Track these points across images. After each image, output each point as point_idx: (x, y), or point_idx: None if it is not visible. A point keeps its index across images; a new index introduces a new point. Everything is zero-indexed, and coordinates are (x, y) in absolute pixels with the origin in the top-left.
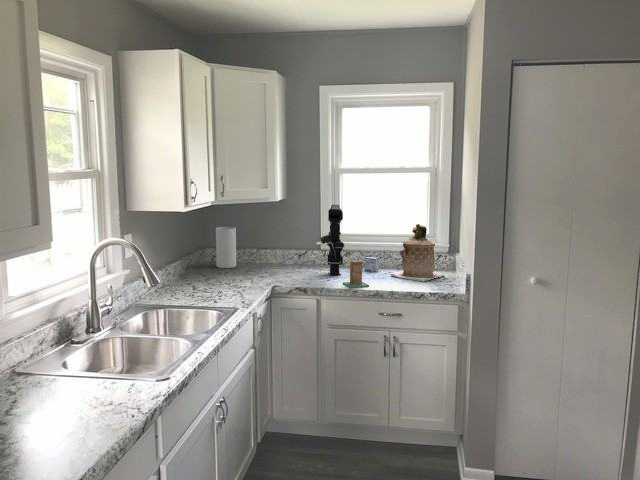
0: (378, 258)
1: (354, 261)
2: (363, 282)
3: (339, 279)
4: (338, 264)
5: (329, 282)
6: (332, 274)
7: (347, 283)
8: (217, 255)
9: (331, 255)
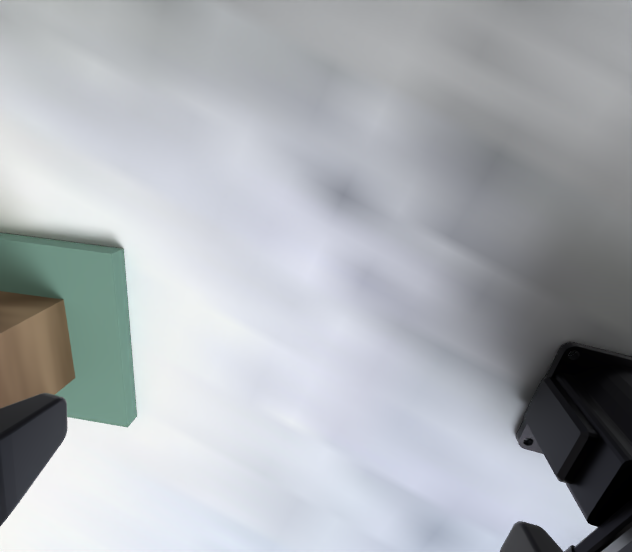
0: None
1: None
2: None
3: (335, 326)
4: (597, 532)
5: (235, 152)
6: (567, 369)
7: (45, 267)
8: None
9: (547, 540)
